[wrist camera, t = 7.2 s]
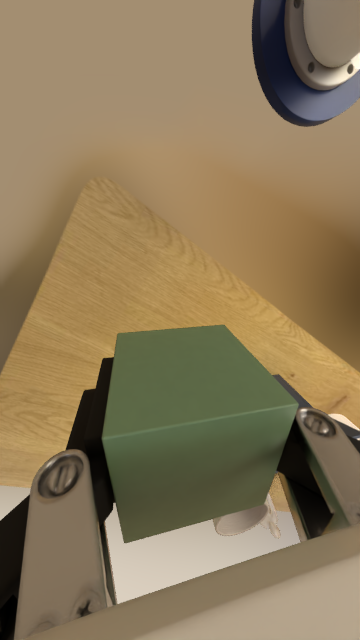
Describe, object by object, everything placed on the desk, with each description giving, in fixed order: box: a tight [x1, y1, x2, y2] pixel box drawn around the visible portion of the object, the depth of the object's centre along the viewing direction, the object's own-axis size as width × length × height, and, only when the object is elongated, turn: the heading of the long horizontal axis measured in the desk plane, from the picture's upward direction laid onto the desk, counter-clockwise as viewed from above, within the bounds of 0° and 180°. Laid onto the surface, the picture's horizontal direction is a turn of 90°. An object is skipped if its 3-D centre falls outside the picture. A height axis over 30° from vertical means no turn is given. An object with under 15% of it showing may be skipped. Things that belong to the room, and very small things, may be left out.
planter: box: [213, 501, 269, 536], centre depth 47 cm, size 12×12×11 cm
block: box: [102, 325, 299, 543], centre depth 8 cm, size 5×5×5 cm
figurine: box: [260, 492, 280, 539], centre depth 53 cm, size 8×8×12 cm
